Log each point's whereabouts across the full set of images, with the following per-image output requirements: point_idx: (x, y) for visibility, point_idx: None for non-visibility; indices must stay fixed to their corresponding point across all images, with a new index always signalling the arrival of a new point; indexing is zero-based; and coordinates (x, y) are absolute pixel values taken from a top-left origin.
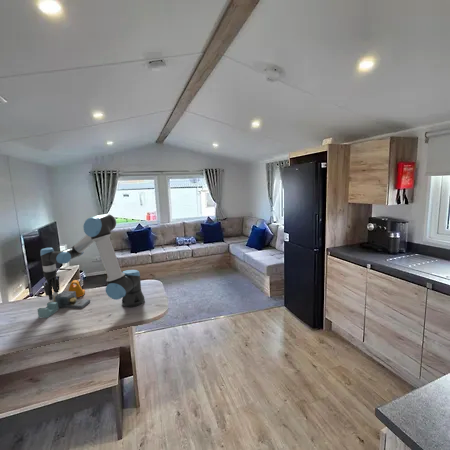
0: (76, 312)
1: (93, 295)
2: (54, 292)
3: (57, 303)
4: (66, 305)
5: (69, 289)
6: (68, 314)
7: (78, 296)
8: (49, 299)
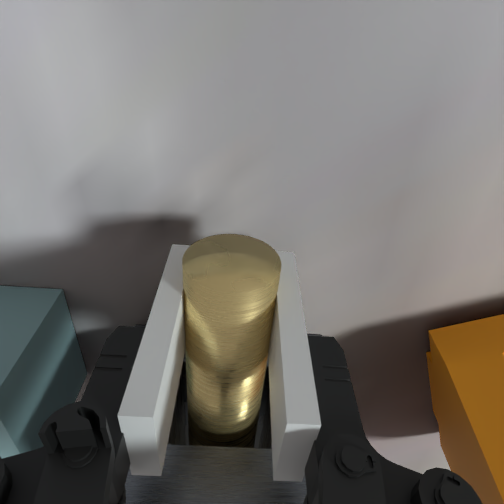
0: None
1: None
2: (299, 446)
3: None
4: None
5: (498, 500)
6: None
7: (436, 410)
8: (111, 338)
